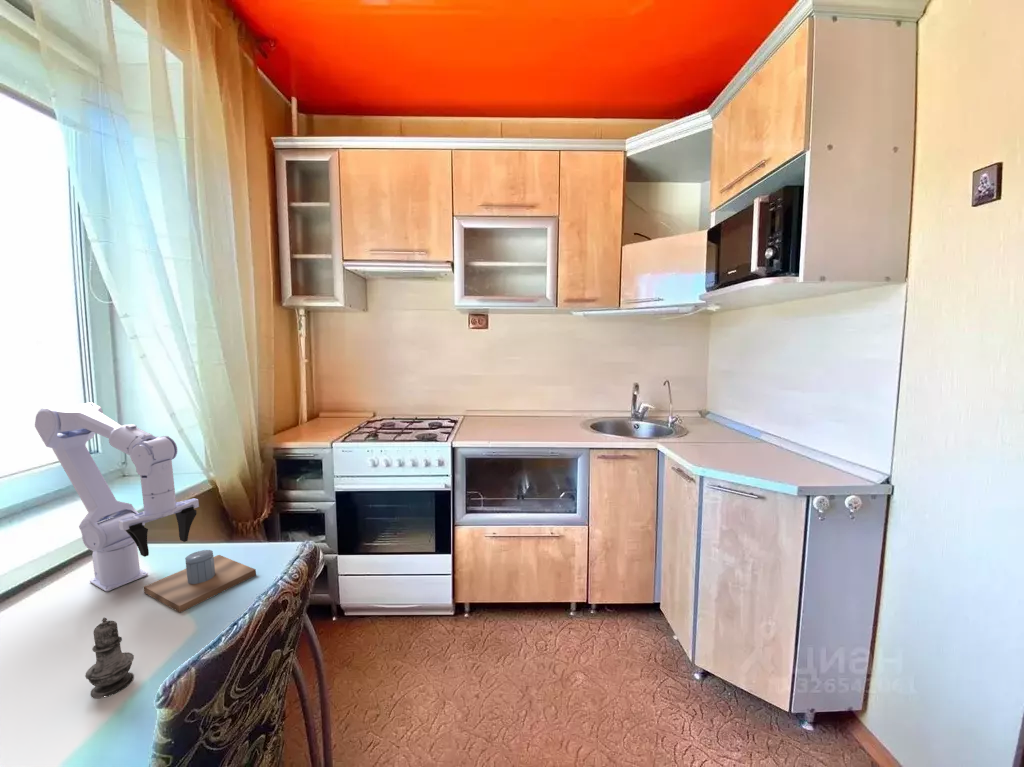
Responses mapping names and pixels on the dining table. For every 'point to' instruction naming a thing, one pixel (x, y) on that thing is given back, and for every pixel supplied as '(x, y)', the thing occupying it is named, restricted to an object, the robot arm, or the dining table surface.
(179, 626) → the dining table surface
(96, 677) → the dark grey tiered piece
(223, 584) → the walnut board
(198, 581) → the cap
